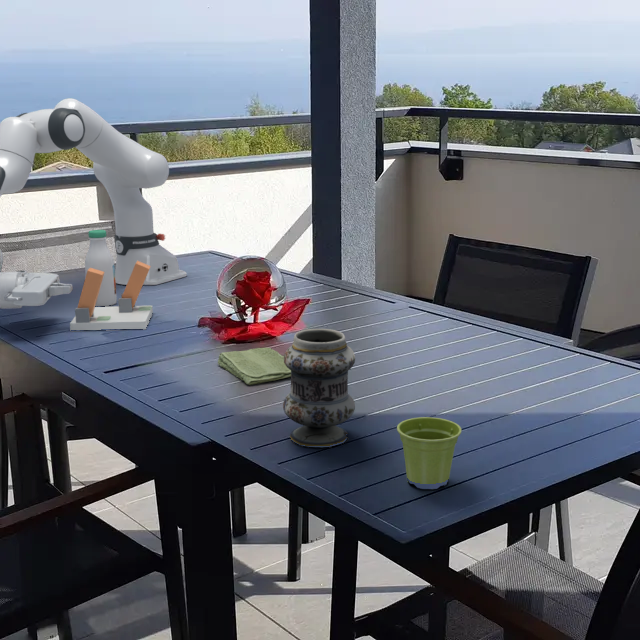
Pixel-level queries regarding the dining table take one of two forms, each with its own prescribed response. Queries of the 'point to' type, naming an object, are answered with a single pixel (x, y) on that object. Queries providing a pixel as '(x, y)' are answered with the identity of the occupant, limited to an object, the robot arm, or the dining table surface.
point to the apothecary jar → (319, 386)
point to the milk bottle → (102, 267)
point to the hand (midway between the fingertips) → (71, 288)
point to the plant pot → (428, 448)
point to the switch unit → (113, 317)
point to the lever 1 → (91, 289)
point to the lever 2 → (136, 281)
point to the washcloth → (255, 365)
